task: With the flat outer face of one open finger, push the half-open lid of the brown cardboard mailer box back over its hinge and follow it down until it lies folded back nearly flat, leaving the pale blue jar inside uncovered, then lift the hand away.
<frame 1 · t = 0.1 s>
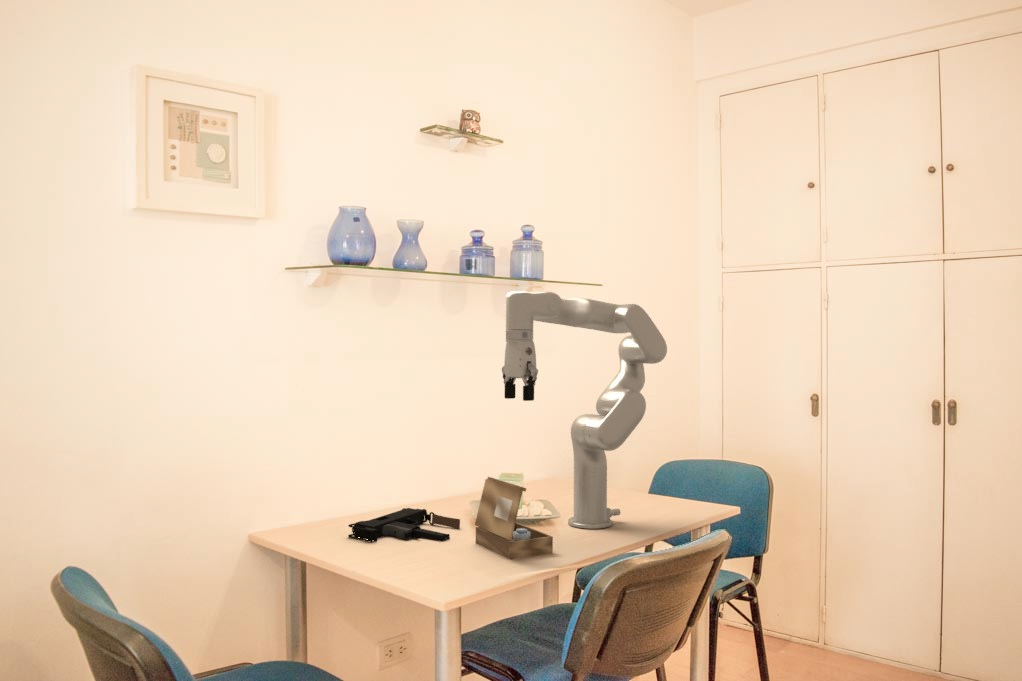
hand: (519, 399, 214), 37 cm above the table, tool pointing down, fingers open, 9 cm apart
blue jar: (521, 546, 199), resting on mailer box
mailer box: (513, 549, 197), on the table
submachine gun: (416, 535, 215), on the table
lid: (500, 507, 196), point 11 cm above the table, hinge at 75.0°
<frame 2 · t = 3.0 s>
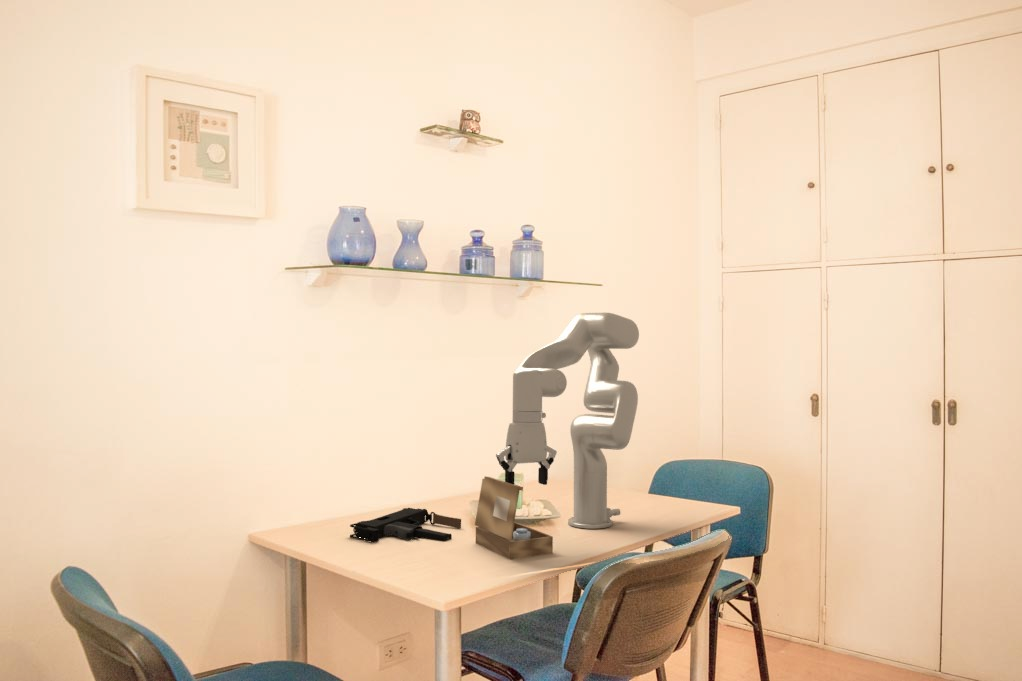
hand: (526, 485, 199), 16 cm above the table, tool pointing down, fingers open, 9 cm apart
lid: (498, 506, 195), point 11 cm above the table, hinge at 79.4°, touching gripper
everything else where it was.
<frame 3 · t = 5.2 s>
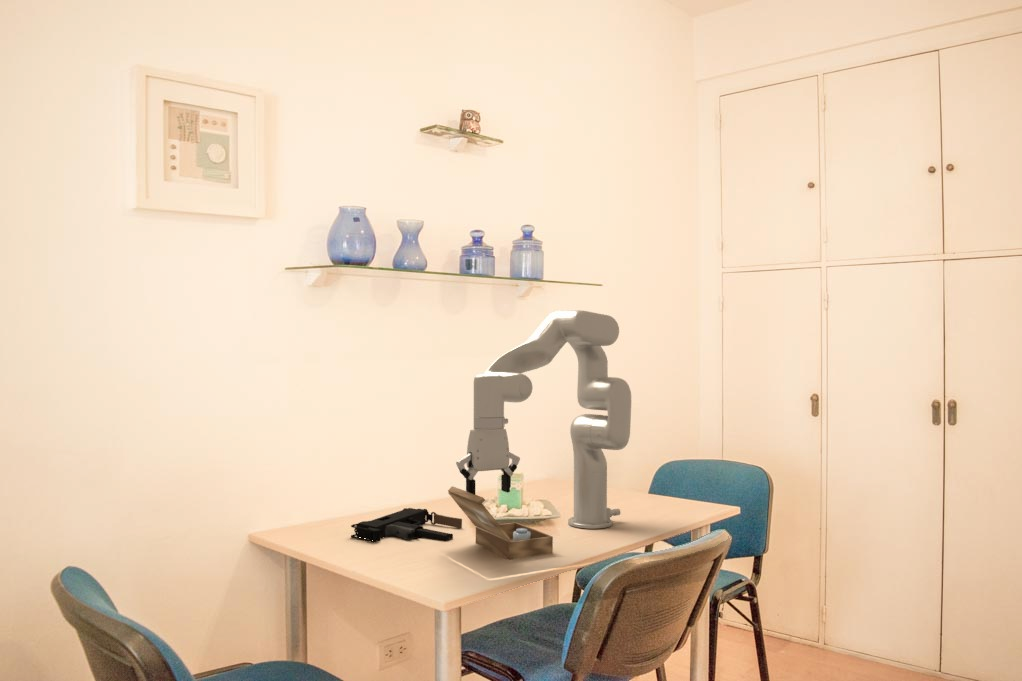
hand: (488, 493, 194), 15 cm above the table, tool pointing down, fingers open, 9 cm apart
lid: (479, 512, 193), point 10 cm above the table, hinge at 130.0°, touching gripper
everything else where it was.
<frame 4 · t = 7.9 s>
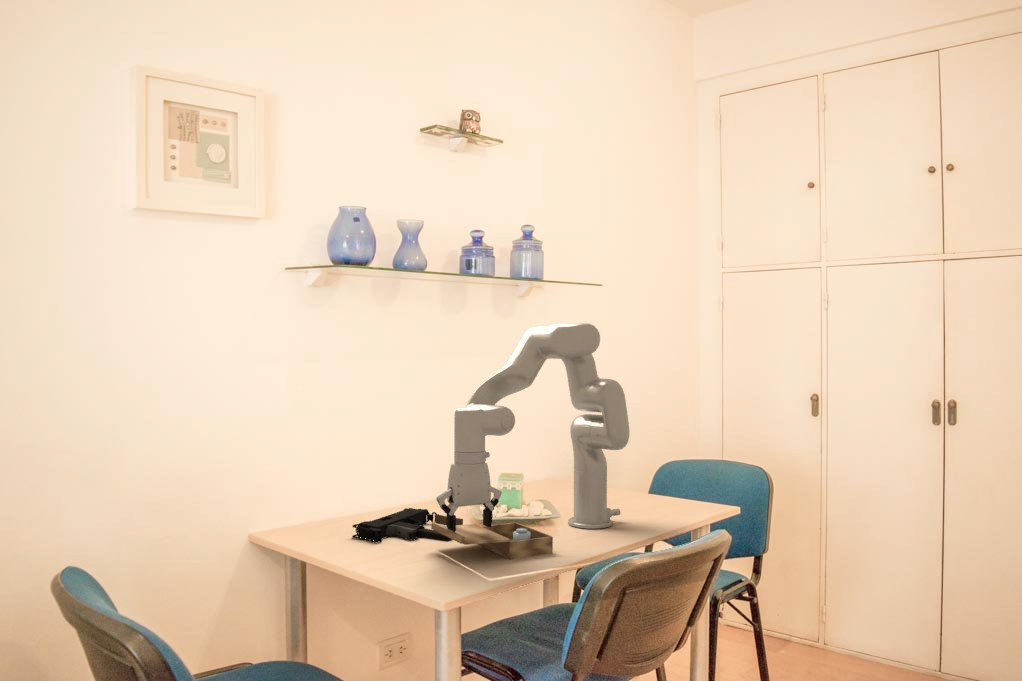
hand: (469, 528, 191), 7 cm above the table, tool pointing down, fingers open, 9 cm apart
lid: (469, 531, 191), point 6 cm above the table, hinge at 177.0°, touching gripper
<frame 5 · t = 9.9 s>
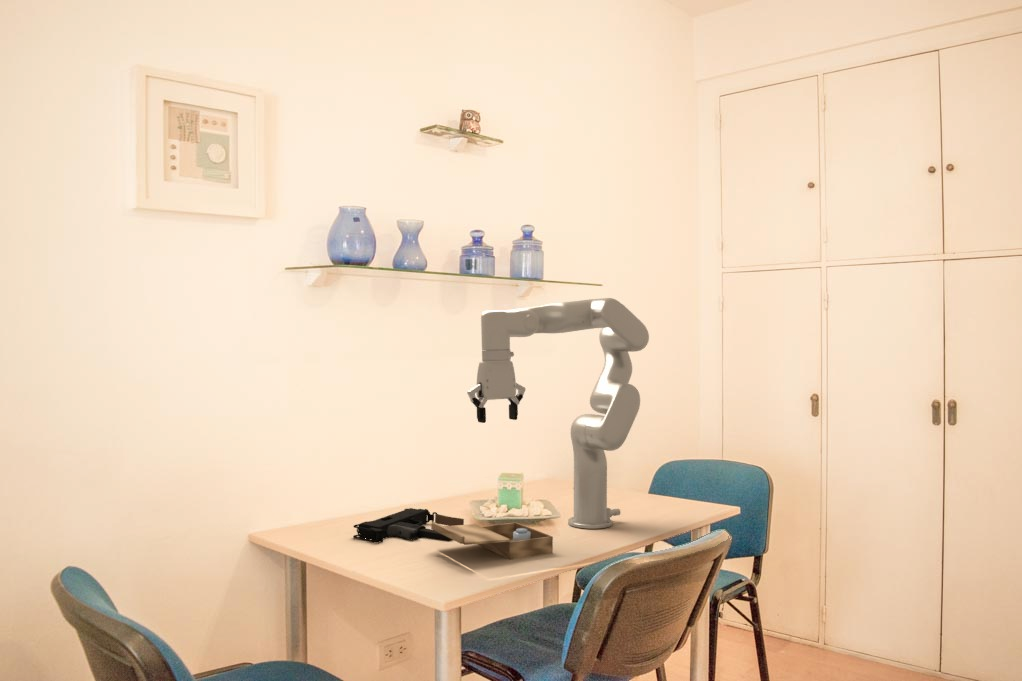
hand: (497, 420, 209), 31 cm above the table, tool pointing down, fingers open, 9 cm apart
lid: (469, 531, 191), point 6 cm above the table, hinge at 177.0°
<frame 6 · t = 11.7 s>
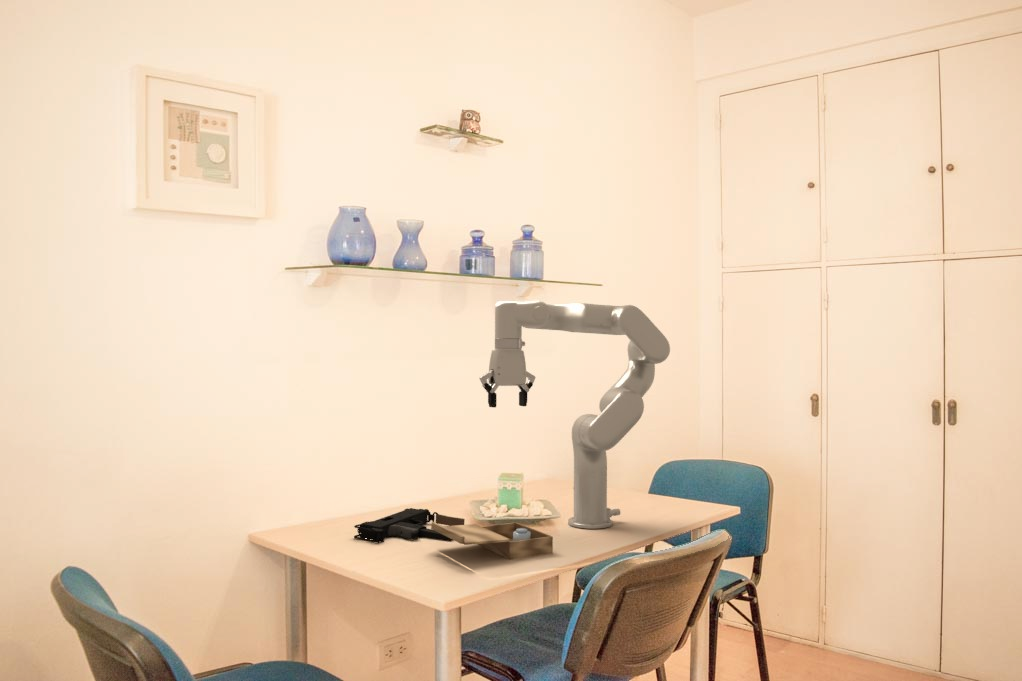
hand: (507, 406, 220), 34 cm above the table, tool pointing down, fingers open, 9 cm apart
at the end: lid at +177° (first picture: +75°); blue jar moved 0.1 cm from its start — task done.
